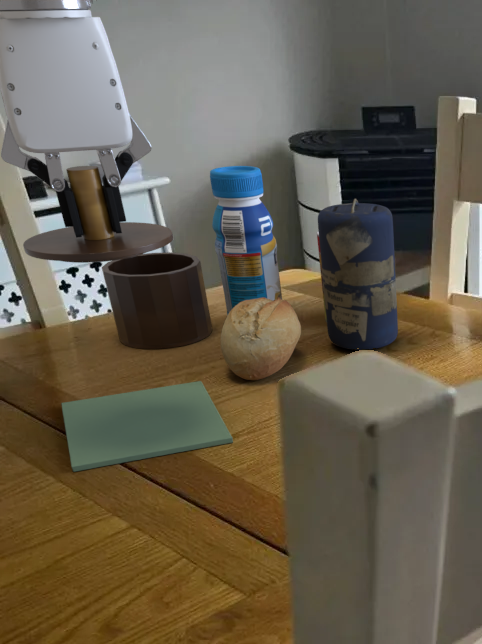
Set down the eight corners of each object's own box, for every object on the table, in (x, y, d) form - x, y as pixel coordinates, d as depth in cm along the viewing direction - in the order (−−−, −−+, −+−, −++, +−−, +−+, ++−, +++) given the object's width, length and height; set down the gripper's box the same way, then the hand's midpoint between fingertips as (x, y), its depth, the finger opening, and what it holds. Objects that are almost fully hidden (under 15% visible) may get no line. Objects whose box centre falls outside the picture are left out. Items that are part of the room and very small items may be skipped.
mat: (73, 472, 82) (71, 466, 82) (62, 407, 96) (61, 402, 95) (233, 442, 87) (232, 437, 87) (202, 385, 101) (201, 380, 100)
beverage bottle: (217, 320, 121) (190, 169, 110) (267, 309, 126) (247, 162, 114) (246, 334, 116) (221, 176, 104) (297, 321, 121) (279, 169, 109)
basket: (125, 354, 110) (107, 280, 104) (115, 327, 119) (98, 258, 114) (219, 340, 114) (207, 269, 109) (203, 315, 124) (190, 248, 118)
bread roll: (311, 343, 113) (304, 283, 108) (295, 384, 101) (286, 318, 96) (241, 344, 113) (231, 284, 108) (216, 385, 101) (204, 319, 96)
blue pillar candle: (318, 352, 110) (302, 205, 99) (342, 330, 117) (330, 190, 107) (387, 357, 108) (378, 207, 97) (407, 334, 115) (401, 193, 105)
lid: (28, 275, 73) (2, 185, 69) (25, 243, 84) (1, 163, 79) (185, 257, 78) (169, 172, 74) (163, 229, 88) (148, 153, 84)
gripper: (135, -3, 75) (177, 217, 85) (-66, -1, 69) (6, 233, 80) (146, -5, 69) (190, 231, 80) (-71, -3, 64) (6, 250, 74)
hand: (97, 230), depth 80 cm, fingers closed on lid, 2 cm apart
